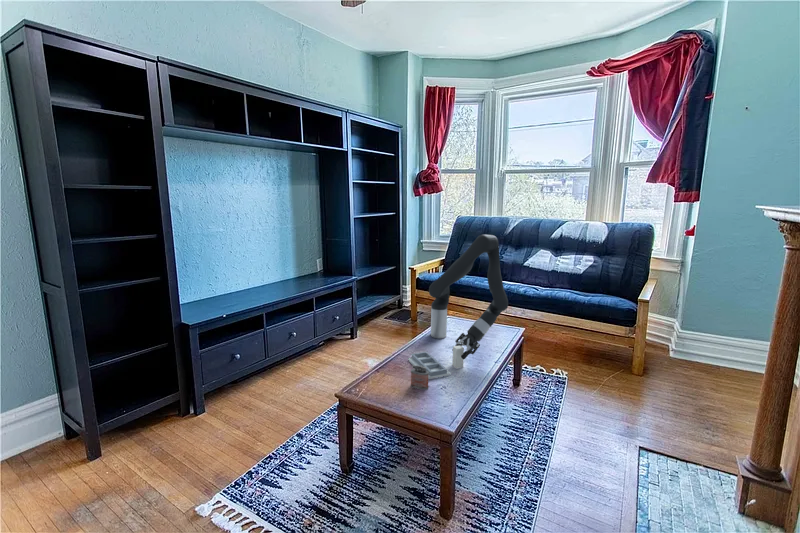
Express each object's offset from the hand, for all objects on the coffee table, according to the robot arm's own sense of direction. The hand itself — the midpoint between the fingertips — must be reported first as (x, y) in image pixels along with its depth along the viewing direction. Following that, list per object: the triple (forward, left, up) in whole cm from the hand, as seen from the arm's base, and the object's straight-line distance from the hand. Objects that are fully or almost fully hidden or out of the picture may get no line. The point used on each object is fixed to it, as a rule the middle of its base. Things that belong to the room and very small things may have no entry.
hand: (457, 354), depth 189 cm
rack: (-4, -14, -6) cm, 16 cm away
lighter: (+12, -26, -6) cm, 29 cm away
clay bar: (0, 0, -6) cm, 6 cm away
